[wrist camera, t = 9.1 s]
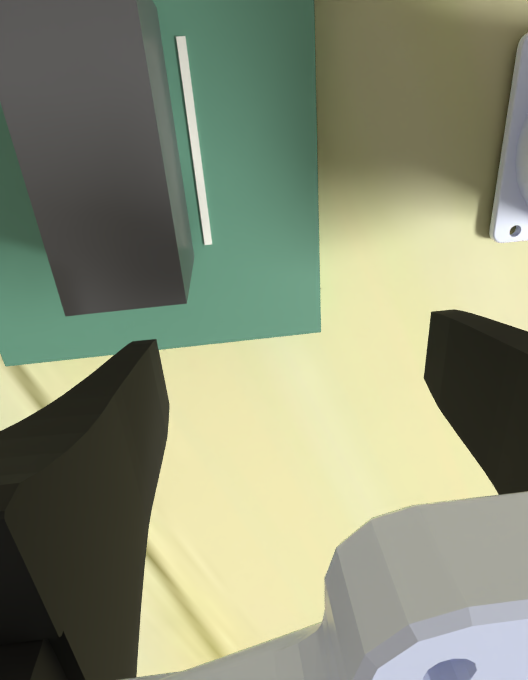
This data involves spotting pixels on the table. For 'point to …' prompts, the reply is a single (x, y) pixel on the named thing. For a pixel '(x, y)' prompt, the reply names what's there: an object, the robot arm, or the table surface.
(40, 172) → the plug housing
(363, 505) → the table surface
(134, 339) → the header board
